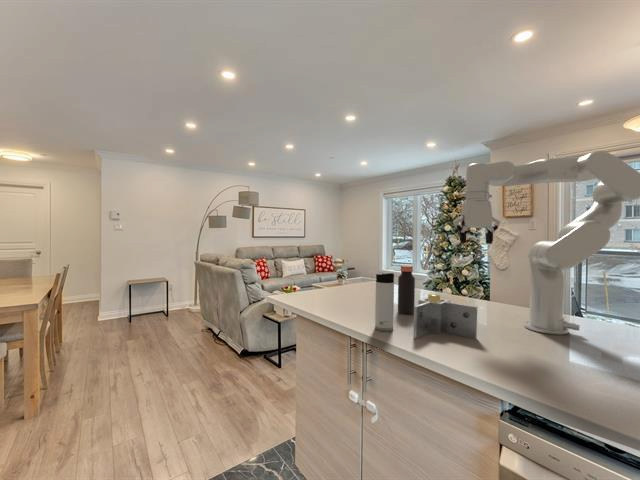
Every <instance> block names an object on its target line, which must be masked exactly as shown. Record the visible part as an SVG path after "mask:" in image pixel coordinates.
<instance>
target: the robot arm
mask: <svg viewBox="0 0 640 480" xmlns="http://www.w3.org/2000/svg"><path fill="white" fill-rule="evenodd" d="M465 176H466V178H465V183H466V184H465V185H466V186H465V201H462V207H461V212H460V217H458V218H456V219H454V220H452V224H453V226H454V228H455V229H456V231H458V233H459V242H460V244H467V232H466V231H467V230H468V228H469V229H473V228H474V229H476V228H477V229H481V228H483V229H484V230H486V233H485V243H486V244H488V245H489V244H491V245H492V244H493V241H494V233H495V232H496V231H497V230H498V228H499V226H500V224H501V220H499V219H497V218H495V217H493V208H492V202H491V201H490V199H492V197H493V195H492V194H490V191H489V190H490V186H491V187H493V186H494V187H505V186H509V187H510V186H511V187H512V186H523V185H538V184H548V183H550V184H553V183H573V182H575V183H577V182H586V181H591V180H594V179H596V180H597V181H599V182H598V183H597V184H596V185H595V187H594V188H593V191H592V205H591V207H590V208H589V209H588V210H586V211H585V212H584V213H583V214H581V215H580V216H578V217H577V218H575V219H574V220H572V221H571V222H569V223H568V224H566V225H565V226H563V227H562V228H561V229H560V230H559V232H558V238H557V239H558V240H541V241H538V242H536V243H534V244H533V245H532V246H531V248H530V249H529V252H528V262H529V269H530V288H529V292H530V293H529V294H530V295H529V320H528V321H525V322H523V323H524V325H523V326H524V328H527V329H528V330H531V331H533V332H537V333H541V334H548V335H557V336H558V335H566V334H569V330H573V331H578V332H579V331H580V327H581V326H580V324H577V323H575V322H574V323H573V322H568V321H566V318H565V317H564V295H565V294H564V292H565V291H564V288H565V278H564V276H565V275H564V272H563V271H566V270H567V271H568V270H571V269H572V268H574V267H576V266H578V265H580V264H581V263H583V262H584V261H585V260H587V259H589V258H591V257H592V256H593V255H595V254H597V253H598V252H600V251H601V250H602V249H603V248H605V247H606V246H607V245H608V243H609V241H610V240H611V231H610V229H611V228H612V227H614V226H615V225H616V224H617V223H618V222H619V220H620V219H621V217H622V212H623V211H622V210H623V205H622V203H624V202H630V201H635V200H638V199H640V172H639V171H638V170H636V169H635V168H633V167H631V165H629V164H628V163H626V162H625V161H623V160H622V159H621V158H620V157H617V156H616V155H614V154H612V153H610V152H608V151H604V150H597V151H595V150H594V151H592V152H590V153H586V154H585V155H581V156H568V157H567V156H566V157H551V158H550V157H547V158H546V157H545V158H541V159H538V160H535V161H532V162H527V163H524V164H523V163H522V164H519V165H515V164H514V163H513V162H511V161H509V160H499V161H493V162H488V163H485V162H476V163H471V164H469V165H468V166H467V167H466V175H465ZM459 223H460V224H459Z"/></svg>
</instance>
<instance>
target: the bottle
mask: <svg viewBox="0 0 640 480" xmlns="http://www.w3.org/2000/svg"><path fill="white" fill-rule="evenodd" d="M413 268H414V267H413V265H408V264H407V265H405V264H404V265H400V272H401V274H400V275H399V276H398V277H397V278H398V280H397V312H398V313H399V314H402V315H406V316H407V315H414V306H415V292H416V291H415V289H416V281H415V280H416V278H415V276H414V275H413V271H414V269H413Z"/></svg>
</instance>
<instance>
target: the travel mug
mask: <svg viewBox="0 0 640 480" xmlns="http://www.w3.org/2000/svg"><path fill="white" fill-rule="evenodd" d="M394 297H395V274H394V273H393V272H391V273H389V272H388V273H382V274H379V273H376V274H375V309H374V310H375V311H374V313H375V315H374V316H375V317H374V326H375V327H374V328H375V330H377V331H379V332H384V333H385V332H392V331H393V330H394V315H395V314H394V312H395V311H394V309H395V308H394V304H395V301H394V300H395V298H394Z"/></svg>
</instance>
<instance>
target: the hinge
mask: <svg viewBox="0 0 640 480" xmlns="http://www.w3.org/2000/svg"><path fill="white" fill-rule="evenodd" d="M417 303H418V304H417V305H414V314H413V333H412V335H413V336H412V337H413V339H418V338H420V337H423V336H424V335H426V334H428V333H434V334H438V335H442V334H443V333H448V334H453V335H455V336H456V335H457V336H460V337H463V338H464V337H465V338H469V339H473V340H477V338H478V334H477V333H478V306H474V305H473V306H472V305H467V304H461V303H456V302H451V300H450V299H443V298H440V303H437V302H431V301H428V296H426V297H424V298H420V299H418V302H417Z"/></svg>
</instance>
